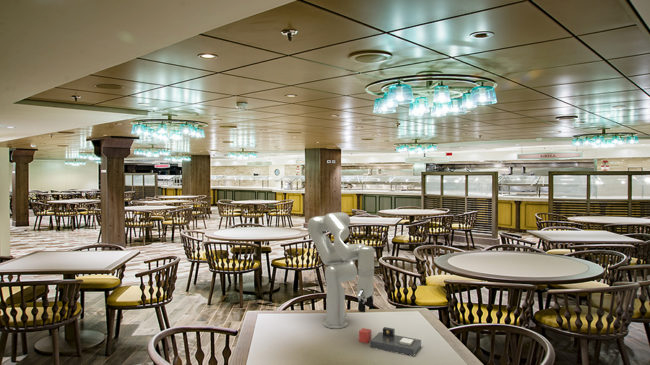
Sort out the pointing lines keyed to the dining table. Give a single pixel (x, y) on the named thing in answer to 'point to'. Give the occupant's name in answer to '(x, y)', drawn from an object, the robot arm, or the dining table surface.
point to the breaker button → (406, 341)
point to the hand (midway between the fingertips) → (365, 309)
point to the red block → (365, 335)
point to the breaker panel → (393, 342)
